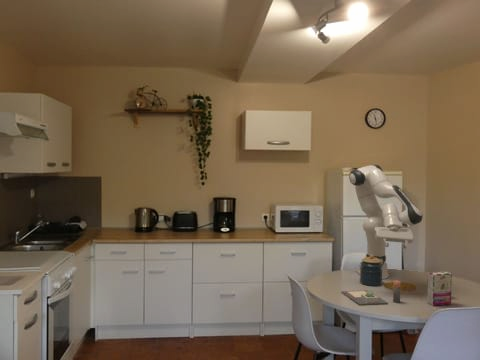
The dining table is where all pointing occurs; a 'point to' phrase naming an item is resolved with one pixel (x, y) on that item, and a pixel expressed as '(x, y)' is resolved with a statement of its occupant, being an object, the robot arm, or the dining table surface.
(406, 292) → the dining table surface
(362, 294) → the board
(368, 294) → the button
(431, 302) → the candy bar box
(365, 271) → the canister
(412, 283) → the dining table surface
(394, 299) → the marker
